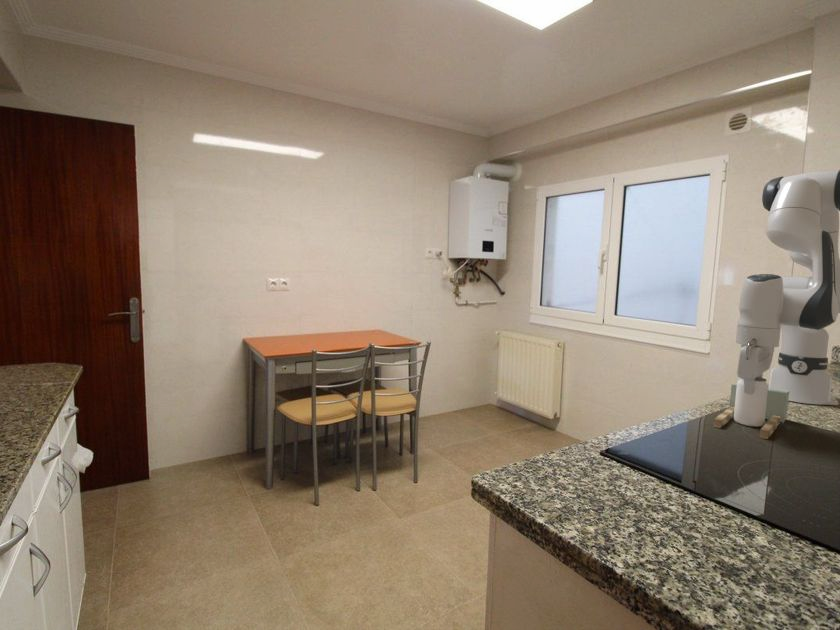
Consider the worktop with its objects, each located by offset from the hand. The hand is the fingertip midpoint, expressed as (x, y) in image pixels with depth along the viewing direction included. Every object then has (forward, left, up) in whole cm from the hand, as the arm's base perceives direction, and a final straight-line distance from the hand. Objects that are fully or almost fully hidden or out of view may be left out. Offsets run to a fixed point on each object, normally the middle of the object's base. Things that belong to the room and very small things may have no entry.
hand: (752, 390), depth 115 cm
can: (0, 0, -9) cm, 9 cm away
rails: (+2, 0, -9) cm, 9 cm away
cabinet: (-10, 0, -9) cm, 14 cm away
